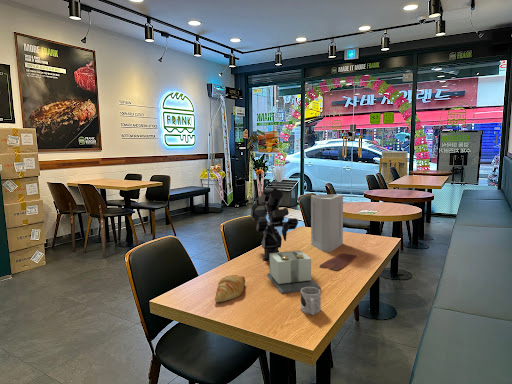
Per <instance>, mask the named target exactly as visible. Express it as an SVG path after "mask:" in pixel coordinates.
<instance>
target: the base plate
mask: <svg viewBox="0 0 512 384" xmlns="http://www.w3.org/2000/svg"><path fill="white" fill-rule="evenodd" d="M297 258H298V259H301V258H303V255H297ZM282 259H283V260H284V261H285V260H286V259H288V256H282ZM266 276H267V277H268V279H269V280H270V281H271V283H273V285H274V286H275V287H276V289H277V290H278V292H279V293H280V294H281V295H283V294H289V293H290V294H292V293H297V292H300V293H301V289H302V288H305V287H315V288H318V289H319V290H322V288H321V286H320V285H319V284H318V283H317V282H316V281H315V280H314V279H312V278H311V280H307V281H299V282H291V283H283V284H278V283H277V282H276V281H275V279H274V278H273V277H272V276H271V275H270V272H269V273H266Z"/></svg>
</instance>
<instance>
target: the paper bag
mask: <svg viewBox="0 0 512 384" xmlns="http://www.w3.org/2000/svg"><path fill="white" fill-rule="evenodd" d="M310 216H311V217H310V225H311V226H310V229H311V230H310V233H311V234H310V235H311V236H310V240H311V241H310V245H311V246H312V245H313V246H312V247H314V248H316V249H318V250H320V251H321V252H325V253H326V252H327V253H332V252H333V251H334V250H336V249H338V248H339V247H340V246H342V245H343V241H344V239H343V238H344V236H343V235H344V226H343V225H344V194H335V193H334V194H312V195H311V196H310Z"/></svg>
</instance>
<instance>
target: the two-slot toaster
mask: <svg viewBox="0 0 512 384" xmlns="http://www.w3.org/2000/svg"><path fill="white" fill-rule="evenodd" d="M297 255H303V258H301V259H298V258H297ZM282 256H288V259H286V260H285V261H284V260H283V259H282ZM268 262H269V273H270V275H271V276H272V277H273V278H274V279H275V281H276V282H277V283H278V284H283V283H291V282H299V281H307V280H311V279H312V258H311V257H310V256H309V255H307V254H306V253H304V252H303V251H302V250H290V251H288V250H287V251H279V252H278V253H269V261H268Z"/></svg>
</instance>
